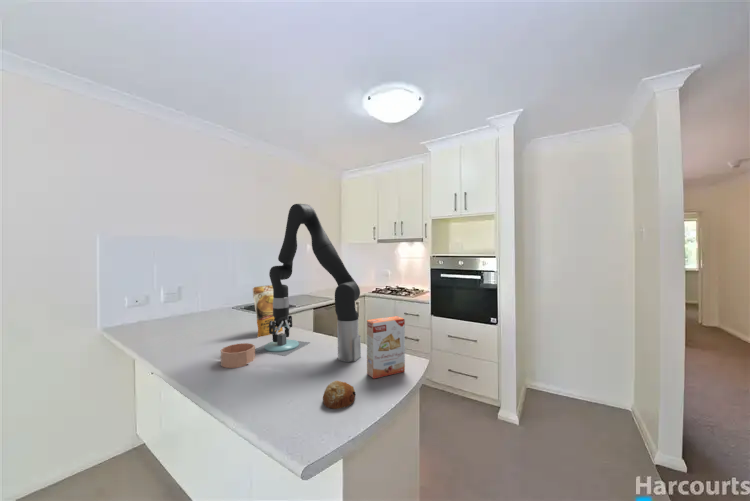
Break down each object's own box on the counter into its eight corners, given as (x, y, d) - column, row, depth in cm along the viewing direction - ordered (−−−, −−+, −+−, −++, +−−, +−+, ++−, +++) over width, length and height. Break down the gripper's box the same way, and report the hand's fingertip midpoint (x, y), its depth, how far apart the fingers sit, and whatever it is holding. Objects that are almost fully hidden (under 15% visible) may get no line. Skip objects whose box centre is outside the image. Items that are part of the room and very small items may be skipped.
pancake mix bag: (250, 337, 165) (249, 286, 165) (280, 329, 180) (279, 283, 180) (256, 339, 161) (255, 287, 161) (287, 331, 176) (286, 284, 175)
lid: (305, 343, 150) (305, 331, 150) (284, 353, 135) (284, 340, 135) (279, 340, 156) (279, 328, 156) (257, 349, 141) (256, 337, 141)
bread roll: (330, 404, 99) (319, 383, 99) (357, 390, 100) (347, 369, 99) (328, 422, 89) (316, 398, 89) (358, 405, 90) (347, 382, 90)
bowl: (261, 358, 132) (260, 345, 132) (237, 369, 120) (237, 354, 120) (239, 355, 137) (238, 342, 137) (214, 365, 125) (214, 351, 125)
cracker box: (373, 380, 109) (372, 322, 109) (366, 374, 114) (365, 319, 114) (405, 372, 115) (405, 318, 115) (397, 366, 121) (396, 315, 121)
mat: (311, 344, 151) (311, 342, 151) (285, 357, 133) (285, 355, 133) (279, 340, 159) (279, 338, 159) (250, 352, 140) (250, 350, 140)
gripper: (277, 309, 138) (277, 344, 138) (296, 304, 151) (296, 336, 151) (264, 308, 140) (264, 342, 141) (284, 303, 154) (284, 334, 154)
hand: (281, 339), depth 146 cm, fingers open, 8 cm apart
